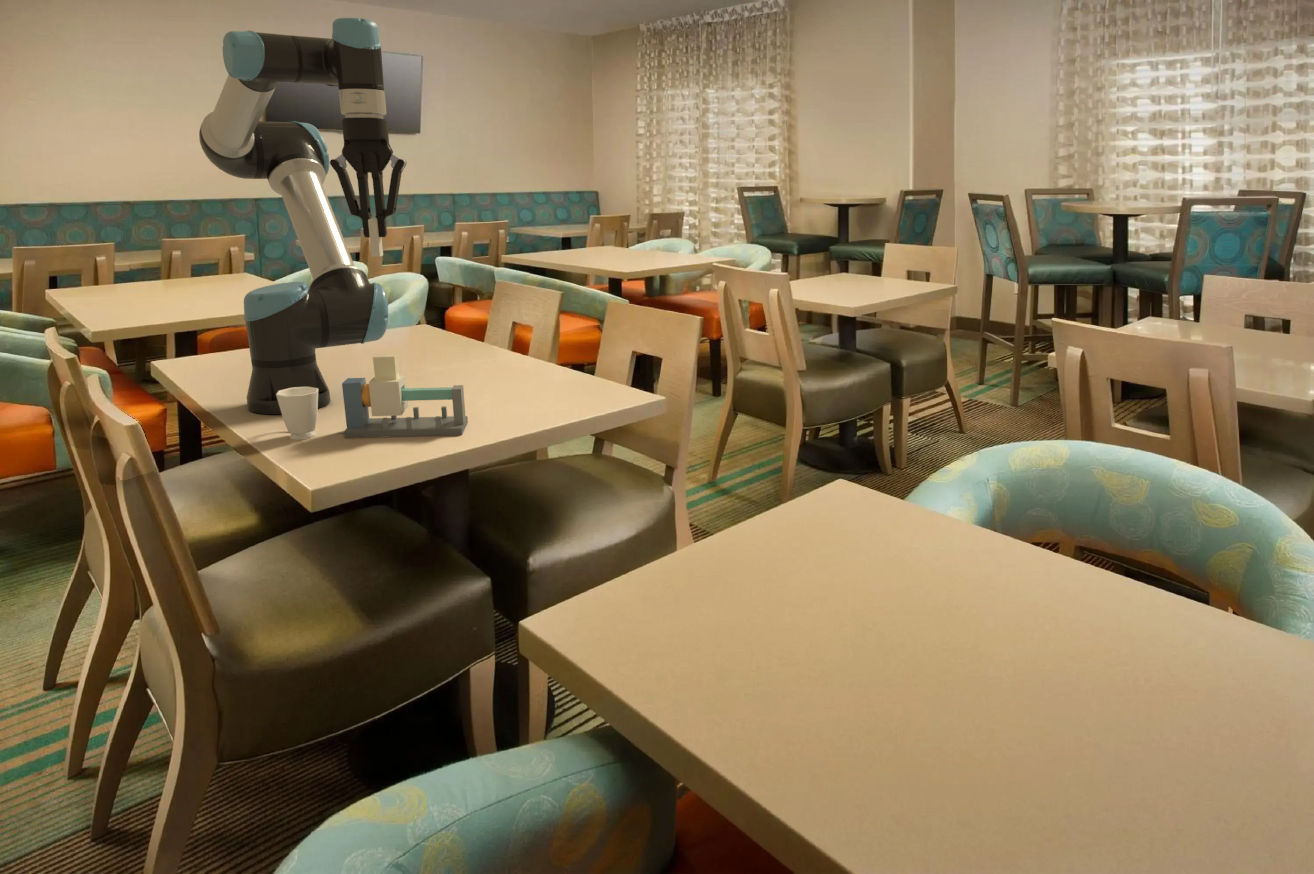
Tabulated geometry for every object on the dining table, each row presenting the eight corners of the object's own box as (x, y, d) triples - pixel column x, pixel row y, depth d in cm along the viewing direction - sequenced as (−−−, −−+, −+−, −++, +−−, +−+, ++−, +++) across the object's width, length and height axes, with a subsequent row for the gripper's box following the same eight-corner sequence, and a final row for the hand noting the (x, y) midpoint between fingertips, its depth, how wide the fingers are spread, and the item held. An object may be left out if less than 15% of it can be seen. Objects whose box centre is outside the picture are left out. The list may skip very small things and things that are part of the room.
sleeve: (408, 406, 158) (403, 351, 155) (401, 415, 152) (396, 358, 149) (379, 407, 157) (374, 352, 154) (372, 416, 151) (366, 359, 148)
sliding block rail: (467, 422, 160) (464, 373, 158) (462, 434, 153) (458, 383, 150) (356, 425, 159) (350, 375, 156) (344, 438, 151) (338, 386, 148)
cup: (287, 444, 148) (281, 398, 145) (272, 431, 155) (266, 387, 153) (329, 437, 152) (324, 392, 149) (312, 424, 159) (307, 381, 157)
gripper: (319, 116, 147) (334, 258, 154) (398, 116, 148) (410, 257, 155) (331, 118, 154) (345, 254, 161) (406, 118, 155) (417, 253, 162)
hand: (377, 255), depth 158 cm, fingers closed
